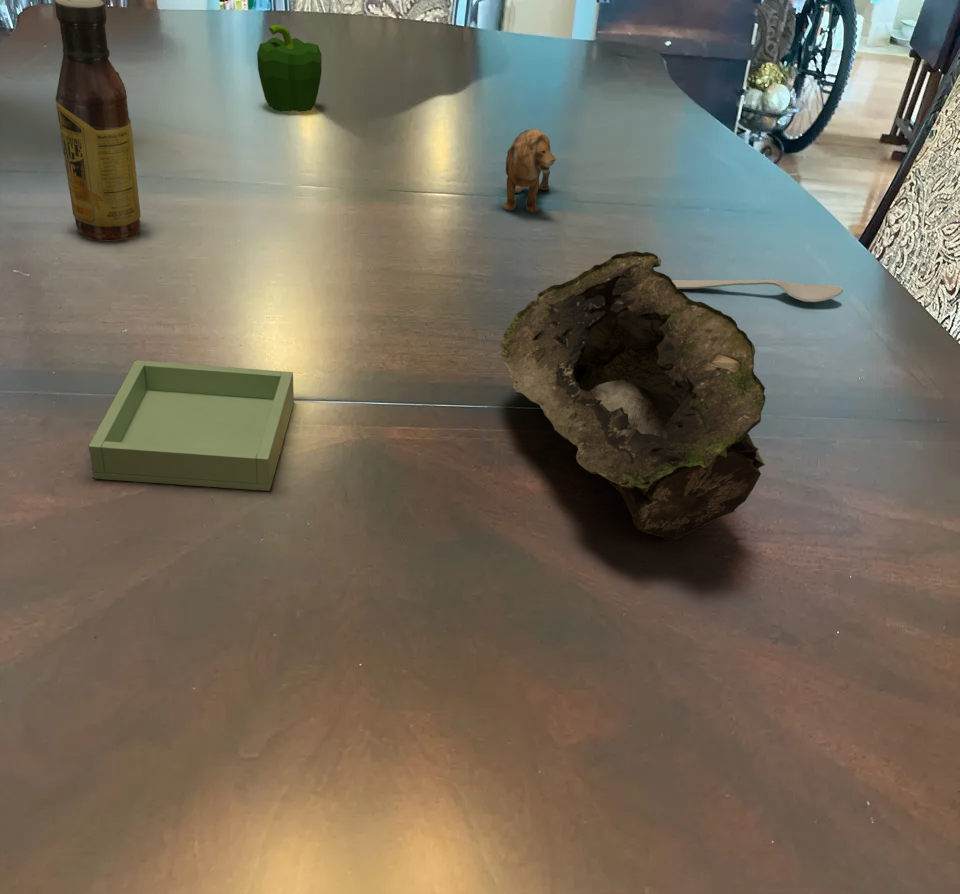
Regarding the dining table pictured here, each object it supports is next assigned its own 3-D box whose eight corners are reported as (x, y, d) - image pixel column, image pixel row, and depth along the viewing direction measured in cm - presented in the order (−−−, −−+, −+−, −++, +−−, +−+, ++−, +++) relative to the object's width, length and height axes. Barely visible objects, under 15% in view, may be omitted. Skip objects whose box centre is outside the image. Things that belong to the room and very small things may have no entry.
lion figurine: (547, 225, 115) (559, 138, 109) (499, 220, 115) (508, 132, 109) (549, 183, 126) (560, 102, 120) (505, 178, 126) (514, 97, 120)
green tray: (93, 478, 70) (88, 445, 68) (139, 390, 79) (135, 359, 78) (269, 491, 70) (268, 458, 69) (293, 402, 80) (293, 371, 78)
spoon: (843, 312, 104) (848, 296, 102) (636, 291, 103) (639, 275, 102) (834, 295, 107) (839, 279, 106) (632, 275, 106) (635, 259, 105)
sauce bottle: (72, 222, 104) (34, -11, 91) (137, 219, 106) (109, -9, 93) (81, 247, 99) (43, 5, 86) (149, 243, 101) (121, 7, 89)
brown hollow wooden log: (680, 641, 70) (881, 503, 64) (566, 538, 62) (783, 372, 57) (580, 420, 90) (726, 301, 84) (484, 321, 82) (638, 184, 77)
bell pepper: (315, 100, 145) (314, 18, 139) (327, 117, 140) (327, 32, 133) (254, 99, 143) (250, 16, 136) (264, 117, 137) (260, 30, 131)
